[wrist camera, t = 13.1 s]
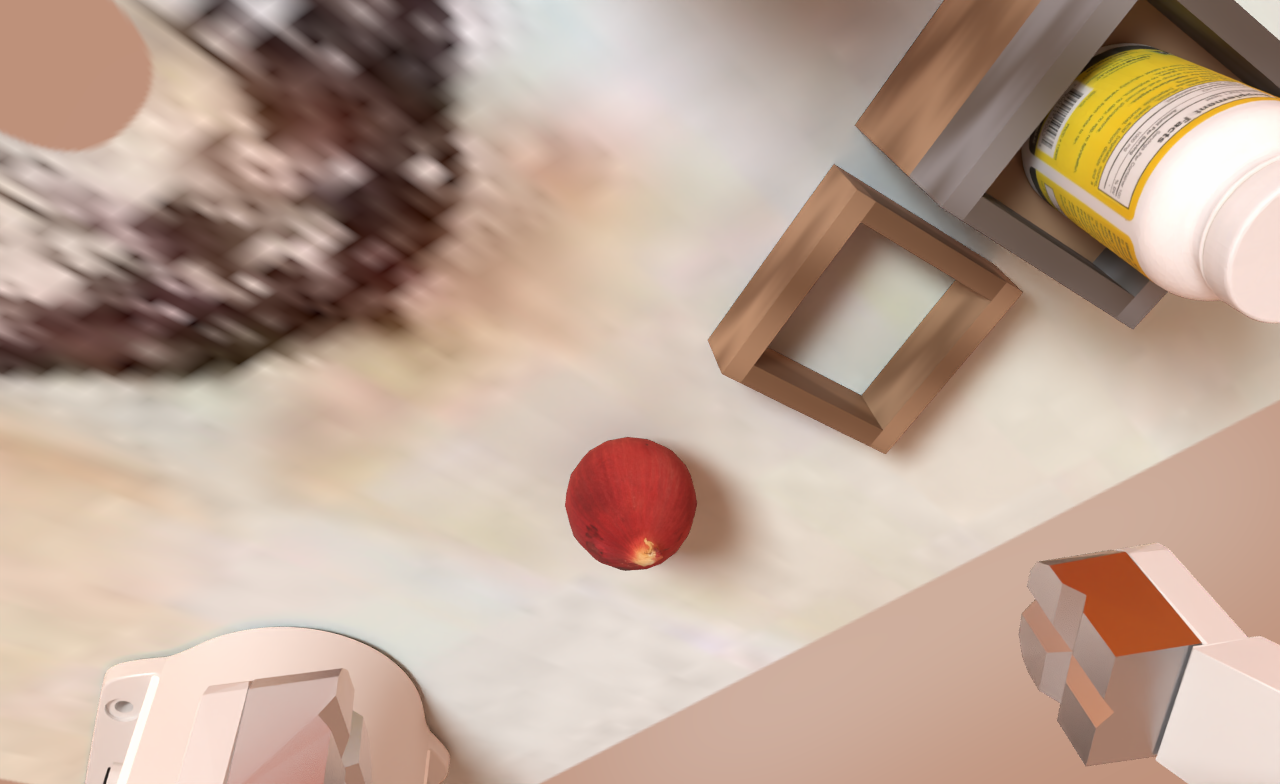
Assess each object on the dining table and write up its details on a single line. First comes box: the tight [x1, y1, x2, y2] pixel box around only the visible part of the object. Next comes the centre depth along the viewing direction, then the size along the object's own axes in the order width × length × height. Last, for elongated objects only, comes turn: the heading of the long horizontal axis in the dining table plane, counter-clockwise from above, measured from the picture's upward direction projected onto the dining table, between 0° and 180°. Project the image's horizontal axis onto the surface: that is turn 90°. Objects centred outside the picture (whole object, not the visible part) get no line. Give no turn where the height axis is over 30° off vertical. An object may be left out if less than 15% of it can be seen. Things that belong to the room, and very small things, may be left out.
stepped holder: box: [708, 0, 1280, 454], centre depth 40 cm, size 21×10×9 cm, turn 148°
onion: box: [565, 437, 697, 571], centre depth 46 cm, size 6×6×8 cm
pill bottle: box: [1021, 43, 1280, 323], centre depth 32 cm, size 6×6×11 cm
